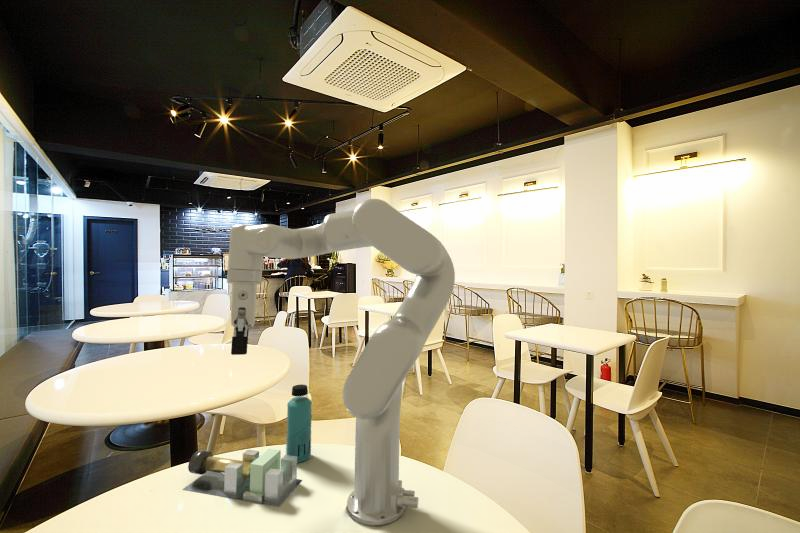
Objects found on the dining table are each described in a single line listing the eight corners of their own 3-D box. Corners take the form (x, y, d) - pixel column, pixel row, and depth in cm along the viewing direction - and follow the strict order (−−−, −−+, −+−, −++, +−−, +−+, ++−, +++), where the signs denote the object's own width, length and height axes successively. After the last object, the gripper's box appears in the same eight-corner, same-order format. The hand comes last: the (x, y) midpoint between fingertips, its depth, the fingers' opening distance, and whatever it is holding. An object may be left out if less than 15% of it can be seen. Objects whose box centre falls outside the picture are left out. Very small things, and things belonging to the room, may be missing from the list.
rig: (302, 485, 83) (303, 455, 84) (278, 512, 74) (279, 478, 74) (214, 470, 89) (215, 442, 89) (182, 494, 79) (183, 463, 79)
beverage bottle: (295, 472, 89) (297, 391, 89) (280, 463, 93) (282, 386, 93) (316, 461, 94) (318, 385, 95) (300, 453, 98) (302, 380, 99)
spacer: (279, 480, 83) (280, 450, 83) (261, 498, 76) (262, 465, 76) (268, 478, 84) (269, 448, 84) (249, 496, 77) (250, 463, 77)
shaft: (258, 475, 83) (258, 454, 83) (244, 487, 78) (245, 465, 79) (203, 466, 86) (204, 446, 87) (187, 477, 82) (188, 456, 82)
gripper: (262, 279, 78) (257, 357, 77) (261, 276, 94) (256, 341, 93) (224, 277, 75) (218, 359, 74) (229, 275, 91) (225, 342, 90)
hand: (239, 349), depth 84 cm, fingers open, 9 cm apart
